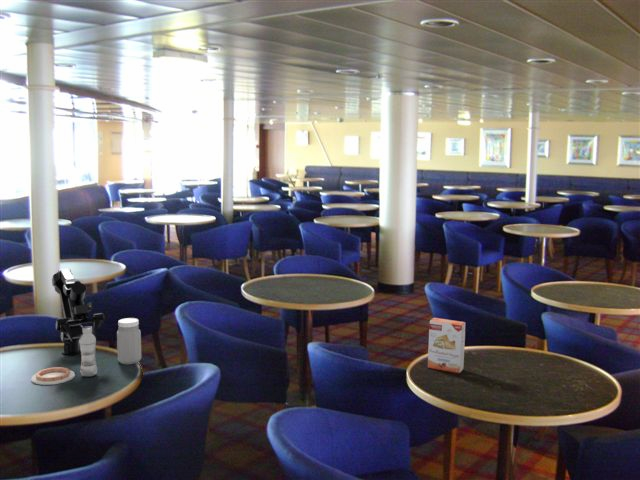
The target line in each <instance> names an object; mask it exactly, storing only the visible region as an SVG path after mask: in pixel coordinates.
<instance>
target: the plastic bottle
mask: <svg viewBox="0 0 640 480" xmlns="http://www.w3.org/2000/svg"><path fill="white" fill-rule="evenodd" d="M82 327H83V328H82V333H83V334H82V336H81V337H80V340H79V344H80V350H81V353H80V356H81V361H80V363H81V364H80V374H81V376H82V377H87V378H88V377H94V376H95V375H96V374H97V373H98V365H97V360H96V344H97V337H96V338H95V336H94V333H93V326H90V325H87V326H82Z"/></svg>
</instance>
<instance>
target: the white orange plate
mask: <svg viewBox="0 0 640 480" xmlns="http://www.w3.org/2000/svg"><path fill="white" fill-rule="evenodd" d="M75 376H76V374H75V372H74V371H73V370H70V369H69V368H68V367H62V366H59V367H58V366H57V367H48V368H47V367H46V368H45V369H41V370H39V371H37V372H36V373H35V374H33V375H32V376H31V378H30V379H31V383H33V384H35V385H39V386H54V385H59V384H63V383H66V382H69V381H71V380H73V379H74V378H75Z"/></svg>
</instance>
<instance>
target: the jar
mask: <svg viewBox="0 0 640 480" xmlns="http://www.w3.org/2000/svg"><path fill="white" fill-rule="evenodd" d="M139 322H140V321H139V319H138V318H135V317H127V318H126V317H125V318H121V319H119V320H118V322H117V325H118V328H117V331H116V346H117V347H116V349H117V350H116V352H117V361H118V362H119V363H120V364H121V365H122V364H123V365H133V364H137V363H139V362H140V361H141V360H142V334H141V333H142V332H141V331H142V330H141V329H139V327H140V326H139V325H140V323H139Z"/></svg>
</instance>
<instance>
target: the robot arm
mask: <svg viewBox="0 0 640 480" xmlns="http://www.w3.org/2000/svg"><path fill="white" fill-rule="evenodd" d="M81 281H82V280H81ZM81 281H80V279H77V278H75V277H74V275H73V273H72V270H71V268H60V269H59V270H57V272H56V273H54V274H53V275H52V278H51V284H52V286H53V288H54V290H55V292H56V293H57V294H58V295H59V298H60V303H61V308H62V313H63V317H60V318H57V319H56V321H55V331H57V332H59V333H60V340H61V342H63V351H62V352H61V355H62V354H63V355H67V356H75V355H78V354H81V349H80V344H79V340H80V337H81V336H82V334H83V333H82V328H83V327H84V326H83V325H82V324H91V323H92V332H93V335H94V336H95V338H96V339H97V336H98V328H100V327H101V326H103V325H104V322H105V319H106V317H105V314H104V313H103V312H99V313H93V317H88V316H89V312H92V311H93V308H94V307H93V303H92V302H87V303H86V304H85V302H84V299H85V295H86V291H87V286H86V285H85V284H84V283H82V282H81Z"/></svg>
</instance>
